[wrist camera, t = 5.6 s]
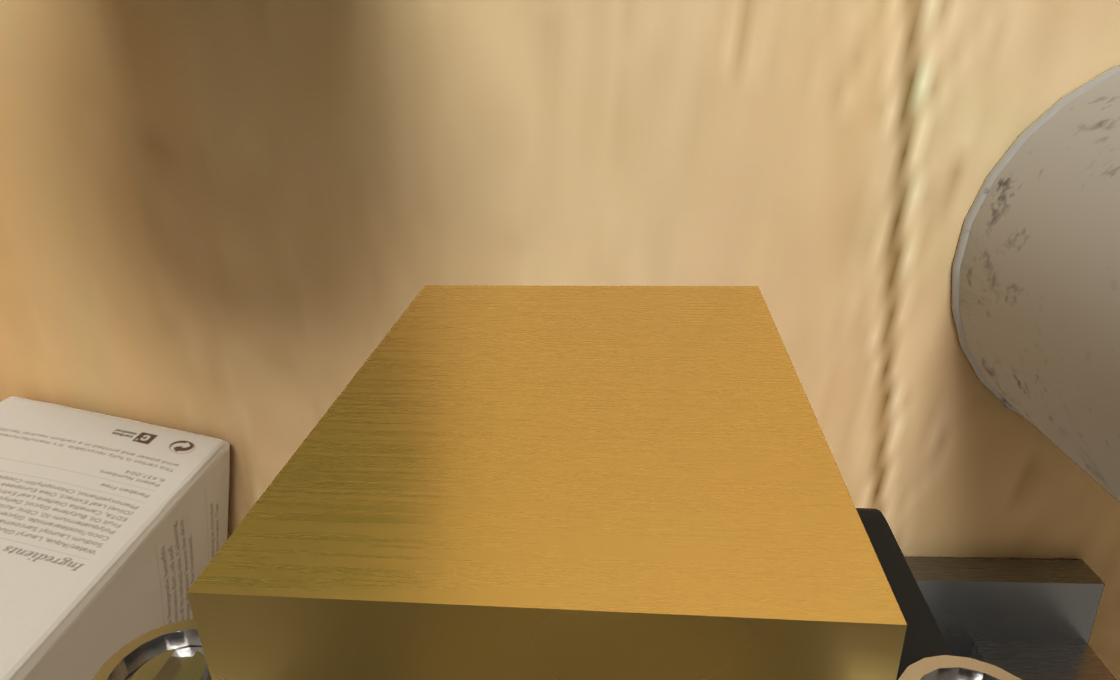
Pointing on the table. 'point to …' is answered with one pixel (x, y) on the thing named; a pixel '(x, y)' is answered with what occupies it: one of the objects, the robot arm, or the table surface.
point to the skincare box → (99, 533)
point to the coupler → (558, 507)
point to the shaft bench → (1016, 613)
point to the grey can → (1051, 278)
